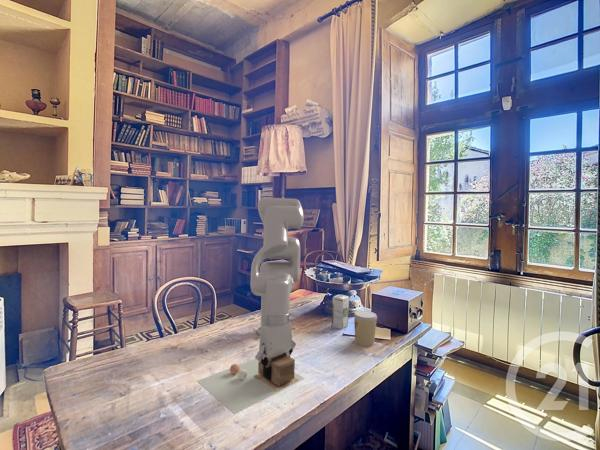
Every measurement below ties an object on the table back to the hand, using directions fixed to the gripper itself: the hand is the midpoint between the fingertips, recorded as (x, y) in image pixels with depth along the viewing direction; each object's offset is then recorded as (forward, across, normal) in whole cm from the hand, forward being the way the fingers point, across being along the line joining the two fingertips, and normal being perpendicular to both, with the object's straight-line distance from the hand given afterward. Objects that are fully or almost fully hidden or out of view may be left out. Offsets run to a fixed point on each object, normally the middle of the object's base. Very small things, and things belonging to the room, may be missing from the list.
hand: (276, 373), depth 99 cm
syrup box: (+3, -53, -17) cm, 56 cm away
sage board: (+3, +6, -4) cm, 8 cm away
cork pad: (+2, 0, 0) cm, 2 cm away
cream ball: (+2, +8, -7) cm, 11 cm away
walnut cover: (+1, 0, 0) cm, 1 cm away
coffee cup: (+3, -47, +1) cm, 47 cm away
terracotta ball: (+2, +8, -11) cm, 14 cm away
